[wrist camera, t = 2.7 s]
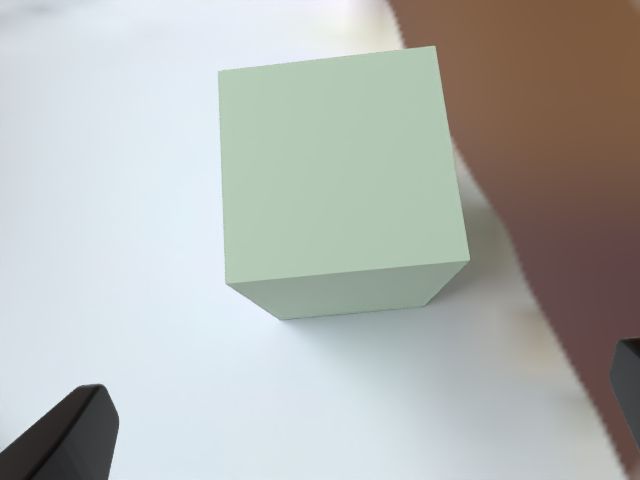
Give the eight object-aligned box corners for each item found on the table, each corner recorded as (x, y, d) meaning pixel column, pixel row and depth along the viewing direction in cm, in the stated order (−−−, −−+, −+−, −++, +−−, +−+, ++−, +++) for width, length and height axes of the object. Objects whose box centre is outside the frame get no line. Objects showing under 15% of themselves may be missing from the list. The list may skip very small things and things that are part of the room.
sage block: (423, 306, 21) (470, 259, 12) (279, 319, 21) (225, 283, 12) (405, 172, 22) (435, 45, 14) (271, 186, 23) (218, 71, 14)
